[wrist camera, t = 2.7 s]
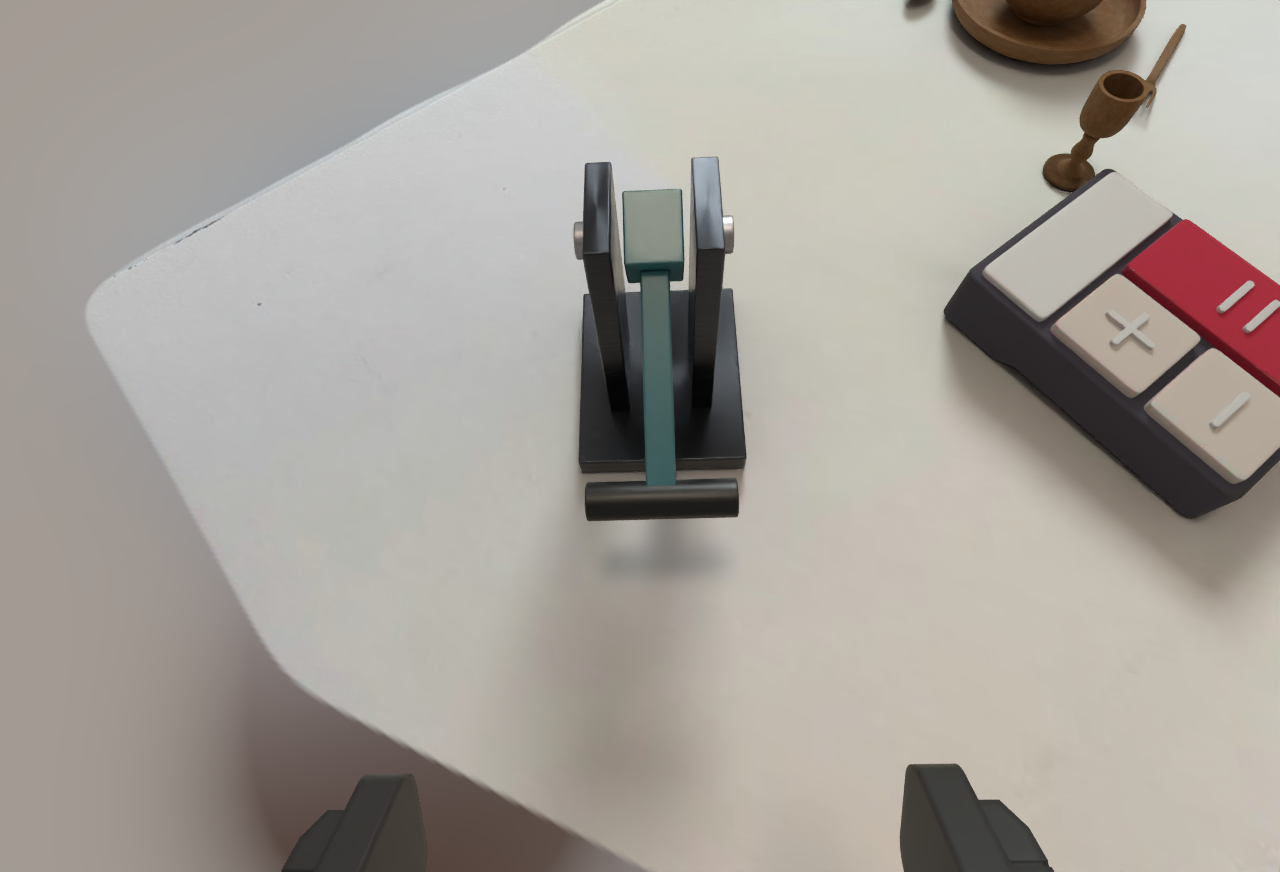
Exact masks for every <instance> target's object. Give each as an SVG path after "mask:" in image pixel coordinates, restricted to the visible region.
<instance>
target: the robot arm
mask: <svg viewBox="0 0 1280 872" xmlns="http://www.w3.org/2000/svg"><path fill="white" fill-rule="evenodd" d="M900 850H901V858H902V864H903V869H904V872H1054V870H1053V869H1052V867H1049V865H1048V860H1047V858H1046V857H1045V855H1044V853H1043V851H1042V850H1041V848H1040V846H1039V844H1038V843H1037V841H1036V839H1035V837H1034V836H1033V834H1032V832H1031V831H1030V829H1029V827H1028V826H1027V825H1025V824H1024V823H1023V822H1022V821H1021V820H1020V819H1019V818H1018V817H1017V816H1016V815H1015V814H1014V813H1013V812H1012V811H1011V810H1009V809H1008V808H1007V807H1006V806H1005V805H1004V804H1003V803H1002V802H1001V801H1000V800H978V798H977V796H976V794H975V792H974V790H973V789H972V787H971V785H970V783H969V781H968V779H967V777H966V775H965V773H964V771H963V770H962V768H961V767H960V766H959V765H958V764H910V765H908V767H907V769H906V775H905V785H904V796H903V807H902V818H901V829H900ZM427 858H428V847H427V839H426V834H425V828H424V823H423V818H422V812H421V807H420V802H419V796H418V791H417V785H416V781H415V779H414V776H413V775H412V774H367V775H365V776H363V777H362V778H361V780H360V781H359V783H358V784H357V786H356V788H355V790H354V792H353V794H352V796H351V798H350V800H349V802H348V804H347V806H346V808H345V810H328V811H327V812H326V813H324V814H323V815H322V816H321V817H320V818H319V820H317V822H315V823H314V824H313V825H312V826H311V827H310V828H309V829H308V830H307V831H306V832H305V833H304V834H303V835H302V836H301V837H300V839H299V840H298V842H297V844H296V846H295V847H294V849H293V851H292V852H291V854H290V856H289V858H288V860H287V861H286V863H285V865H284V867H283V869H282V872H426V868H427Z"/></svg>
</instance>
